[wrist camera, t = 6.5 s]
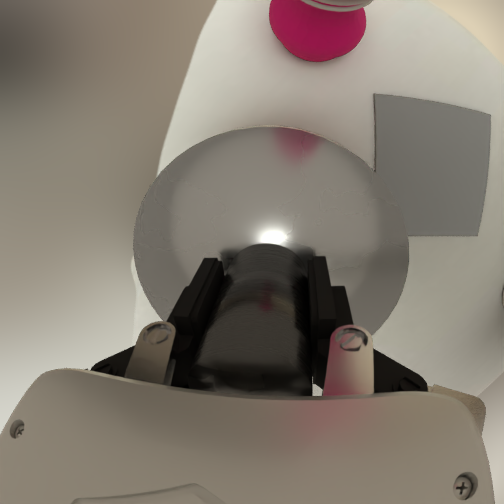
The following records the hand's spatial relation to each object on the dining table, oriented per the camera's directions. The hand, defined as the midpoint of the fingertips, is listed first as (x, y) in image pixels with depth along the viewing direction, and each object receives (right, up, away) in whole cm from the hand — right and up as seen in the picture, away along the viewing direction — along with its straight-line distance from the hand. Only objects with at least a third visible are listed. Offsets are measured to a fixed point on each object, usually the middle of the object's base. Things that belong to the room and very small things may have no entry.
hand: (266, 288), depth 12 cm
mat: (+18, +10, +11) cm, 23 cm away
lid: (0, +1, +2) cm, 2 cm away
